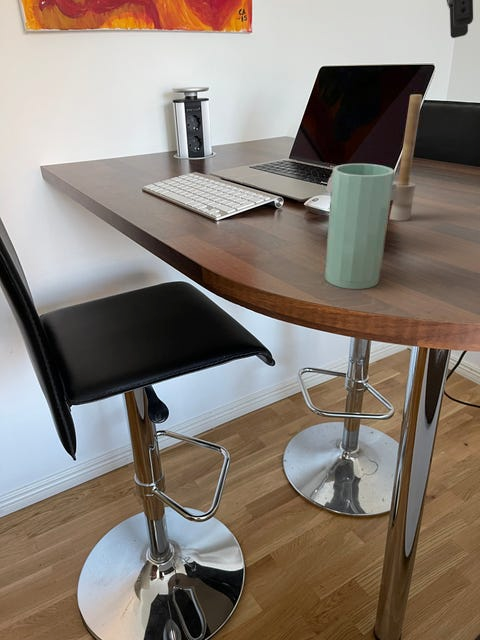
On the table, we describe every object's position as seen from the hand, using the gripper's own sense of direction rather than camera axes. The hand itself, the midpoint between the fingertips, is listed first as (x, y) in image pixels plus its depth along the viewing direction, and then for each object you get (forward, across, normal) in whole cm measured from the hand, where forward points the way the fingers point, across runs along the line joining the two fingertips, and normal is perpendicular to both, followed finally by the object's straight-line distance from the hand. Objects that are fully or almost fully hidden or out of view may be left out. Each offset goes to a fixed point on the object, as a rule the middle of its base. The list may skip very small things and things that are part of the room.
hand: (461, 31), depth 66 cm
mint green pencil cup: (+28, -16, +15) cm, 36 cm away
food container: (+26, -4, +17) cm, 32 cm away
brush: (+26, +13, +10) cm, 30 cm away
